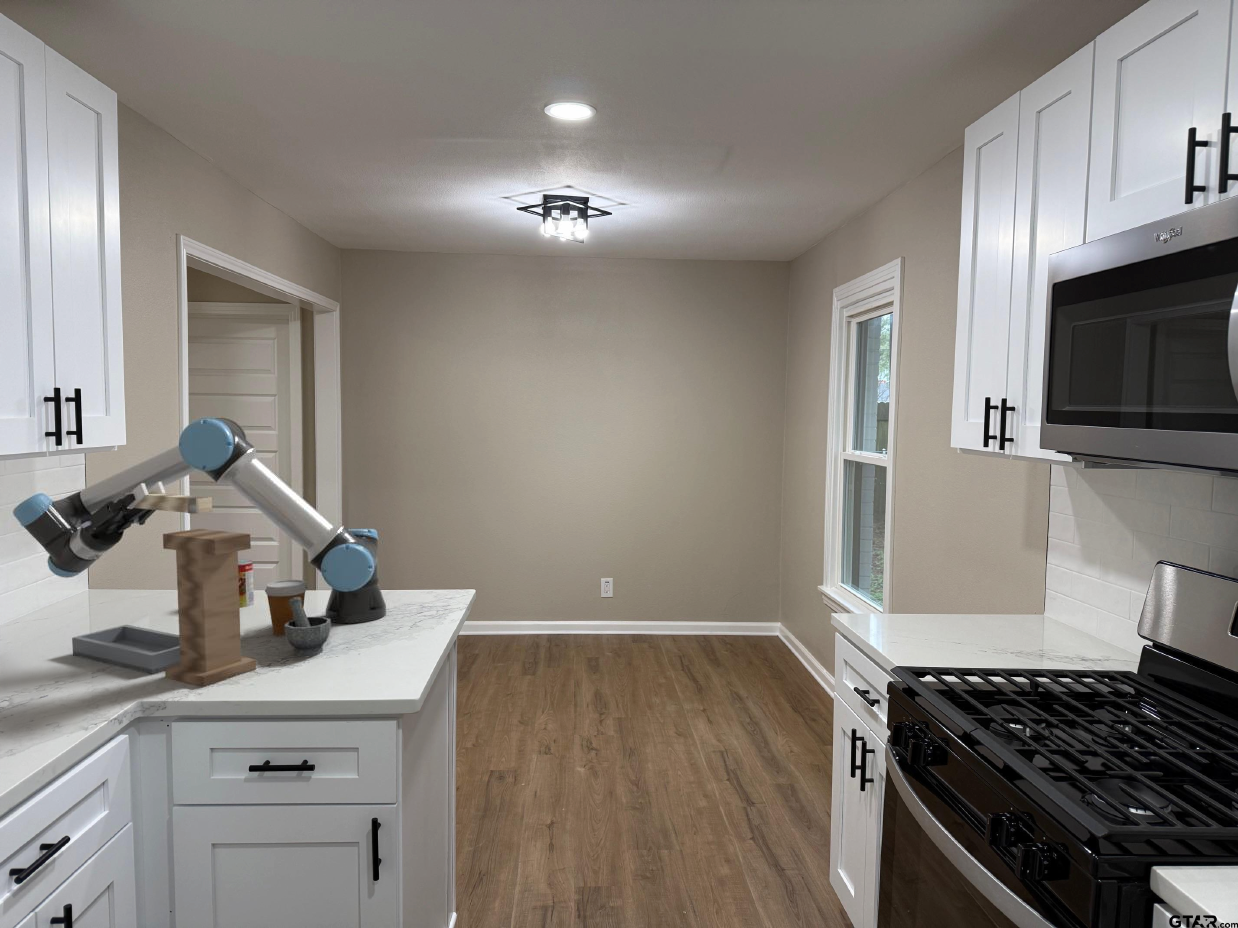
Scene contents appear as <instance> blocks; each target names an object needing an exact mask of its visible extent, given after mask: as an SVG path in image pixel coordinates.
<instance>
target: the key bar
mask: <svg viewBox="0 0 1238 928" xmlns="http://www.w3.org/2000/svg"><path fill="white" fill-rule="evenodd" d="M130 493H131V492H130ZM130 493H124V497H125V496H126V495H128V494H130ZM148 494H149V495H148V496H147V497H146V498H144V499H143V500H142V501H141V502H140V503H139V504H137V505H136V506H135V507H134V508H141V509H152V510H156V511H163V512H177V513H186V514H191V515H193V514H195V515H196V514H198V515H200V514H201V515H202V514H207V513H213V501H212V500H213V499H212V497H211V496H198V495H197V496H196V495H185V494H173V493H171V494H170V493H169V494H168V493H165V494H160V493H148Z"/></svg>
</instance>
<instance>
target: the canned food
mask: <svg viewBox="0 0 1238 928" xmlns="http://www.w3.org/2000/svg"><path fill="white" fill-rule="evenodd" d="M253 568H254V567H253V560H252V559H247V558H246V559H244V558H242V559H240V558H238V579H239V609H240V608H246V607H250V606H252V605H254V604H255V599H254V598H255V597H254V595H255V594H254V569H253Z"/></svg>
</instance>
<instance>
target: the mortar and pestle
mask: <svg viewBox="0 0 1238 928" xmlns="http://www.w3.org/2000/svg"><path fill="white" fill-rule="evenodd" d="M301 601H302V600H301V598H300V597H295V598H292V599H290V600H289V601H288V602H289V604H290V605H291V608H292V613H293V617H294V620H291V621H288V622H286V623H285V635H284V636H285V640H287V642H288V644H289V645H290V646H291V647H293V648H294V650H293V656H295V655H296V656H295V657H298V656H309V657H314V656H313V655H315V656H318V655H321V654H322V652H324V647H323V644H325V643H326V642H327V640H328V638H329V636H330V632H331V625H332V624H331V623H332V621H330V619H328V618H326V616H325V617H324V616H307V614H306V611H305V608H303V606H302V603H301ZM320 653H321V654H320Z"/></svg>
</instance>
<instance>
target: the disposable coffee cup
mask: <svg viewBox="0 0 1238 928" xmlns="http://www.w3.org/2000/svg"><path fill="white" fill-rule="evenodd" d="M306 584H307V583H306V582H305V580H302V579H300V580H299V579H284V580H283V579H282V580H276V581H271V582H269V583H267V584H266V588H265V589H264V592H265V594H266V596H267V602H268V608H269V615H270V621H271V625H272V631H273V634H274V635H276V636H285V623H286V622H288V621H291V620H294V617H293V613H292V608H291V605H290V604H289V602H288V601H289V600H290V599H292V598H295V597H300V598H301V600H302V601H301V603H302V606H303V608H304V607H305V599H306V598H305V597H306V592H307V589H308V585H306ZM304 609H305V608H304Z"/></svg>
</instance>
